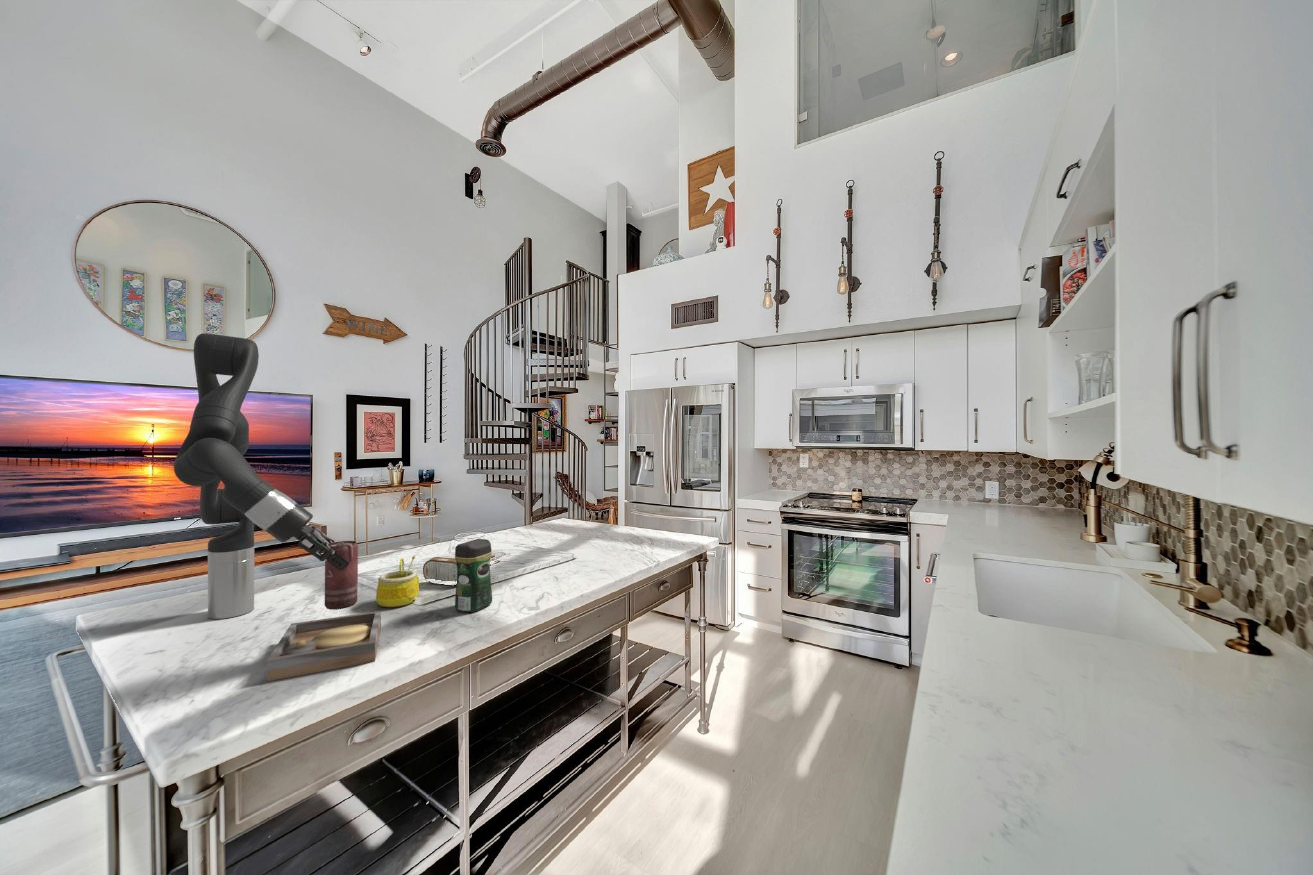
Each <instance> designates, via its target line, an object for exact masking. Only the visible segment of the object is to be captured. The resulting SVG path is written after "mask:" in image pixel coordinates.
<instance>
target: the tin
mask: <svg viewBox="0 0 1313 875" xmlns="http://www.w3.org/2000/svg"><path fill="white" fill-rule="evenodd" d="M422 573H423V577H424V579H425V580H426V579H435V580H441V581H455V582H456V581H457V563H456V560H455V557H454V558H452V557H442V556H441V557H440V556H434V557H432V558H430V559H428V560H427V561H426V562H424V563H423V566H422Z"/></svg>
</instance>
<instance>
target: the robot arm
mask: <svg viewBox="0 0 1313 875" xmlns="http://www.w3.org/2000/svg"><path fill="white" fill-rule="evenodd" d="M259 354H260V353H259V348H258V345H257V343H256V342H255V341H254V340H253V339H250V338H244V337H238V336H237V337H236V336H229V335H223V334H214V333H205V332H204V333H200V334H198V335H197V336H196V337H195V339H194V343H193V361H194V370H195V377H196V378H195V379H196V384H197V393H198V402H197V404H196V406H195V407H194V411H193V414H192V418H191V422H190V425H189V431H188V433H187V436H186V437H185V438H184V440H183V442H182V444H181V447H180V449H179V450H178V452H177V454H176V457H175V460H174V462H173V471H174V474H175V476H176V478H177V479H178V480H179V481H180V482H182V483H183V484H185V485H188V486H192V487H200V497H199V514H200V518H201V521H202V522H203V524H205V525H224V524H233V523H234V524H235V523H238V526H236V527H235V528H234V529H232V530H230V531H228V532H226V533H224V534H221V535H218V536H215V537H213V538H211V539H209V540H208V542H207V618H208V619H214V620H219V619H220V620H221V619H230V618H234V617H239V616H242V615H245V614H248V613H250V612H252V611H254V609H255V525H257V527H259V528H260V529H262V530H263V531H264V532H266V533H267V534H269V535H270V536H272V537H273V538H275V539H276V540H277V541H279V542H280V543H286V542H288V541H289V540H290V539H291V538H295V539H296V540H297V541H299V542H298V543H297V546H298V547H299V548H300V549H302V550H304V551H306V552H308V553H309V554H310V555H311V556H313V557H315V558H316V559H318V560H319V561H320V562H325V561H327V562H329V563H330V564H332V565H333V566H334V567H336V568H337V569H339V570H340V571H342V570H344V569H345V568H346V567H347V566H348V565H349V562H348V561H347V560H346V559H344V558H343V557H341V556H340V555H339V554H337V553H336V552H335V550H333V549H332V548H330V547H329V544H330V543H334V542H335V540H334V539H332V538H331V537H329V536H328V535H326V533H324V532H323V531H322V530H320V529H319V528H318V527H317V526H316V525H313V526H312V527H311V526H309V525H308V524H309V522H310V521H311V520H312V519H313V518H314V515H313V513H311V512H310V511H308V510H307V509H306V508H304V507H302V505H300V504H299V503H297V502H296V501H295V500H294V499H292V497H290V496H288V495H286V494H285V493H284V492H282V491H280V490H278V489H276V488H275V487H274V486H272V485H271V484H270V483H268V482H267V481H266V480H264V479H263V478H262V477H260V476H259V475H258V474H257V472H255V470H254V468H253V467H252V466H251V464H250V463H249V462H248V461H247V460H246V458H245V457H244V455H245V454H246V453H247V451H248V448H249V446H250V424H249V421H248V419H247V418H246V417H245V415H244V414H243V412H242V411H241V408H242V405H243V403H244V400H245V398H246V397H247V395H248V392H249V390H250V388H251V386H252V383H253V381H254V378H255V375H256V373H257V369H258V366H259ZM218 375H221V376H228V377H229V376H230V377H231V376H232V377H231V378H229V379H227V381H226V382H224V383H222V384H220V382H219V379H218V377H217V376H218ZM221 483H223V486H224V488H219V485H220V484H221ZM322 552H323V553H322Z"/></svg>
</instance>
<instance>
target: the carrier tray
mask: <svg viewBox="0 0 1313 875" xmlns="http://www.w3.org/2000/svg"><path fill="white" fill-rule="evenodd" d="M381 628H382V610H377V611H370V612H362V613H355V614H351V615H350V614H349V615H344V616H343V615H342V616H335V617H328V618H322V619H313V620H309V621H307V620H306V621H300V622H299V621H298V622H294V623H290V625H289V626H288V627H287V629H286V631H285V633H284V634H283V636H282V637H281V638H280V639H279V642H278V643H277V645H276V646H275V648H274V649H273V651H271V652H272V653H271V654H270V656H269V657H268V658H267V660H266V682H272V681H277V680H283V679H288V678H293V677H299V676H303V675H308V674H314V673H319V672H326V671H330V670H331V671H332V670H336V669H342V668H347V667H353V666H358V665H363V664H368V663H374V662H376V657H377V652H378V647H379V640H380V635H381Z"/></svg>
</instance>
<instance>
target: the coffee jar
mask: <svg viewBox="0 0 1313 875" xmlns="http://www.w3.org/2000/svg"><path fill="white" fill-rule="evenodd" d="M454 548H455V549H454V559H455V560H456V563H457V584H456V586H455V587H456V588H455V597H454V609H456V611H458V612H461V613H465V612H466V613H468V612H469V613H474V612H477V611H480V610H483V609H484V608H486V607H488V606H490V605H492V603H493V591H492V581H491V580H492V578H491V559H492V554H493V552H492V543H491V542H490V539H485V538H477V539H472V540H469V541H466V542H462V543H459V544H457V545H456V546H455V547H454Z"/></svg>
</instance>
